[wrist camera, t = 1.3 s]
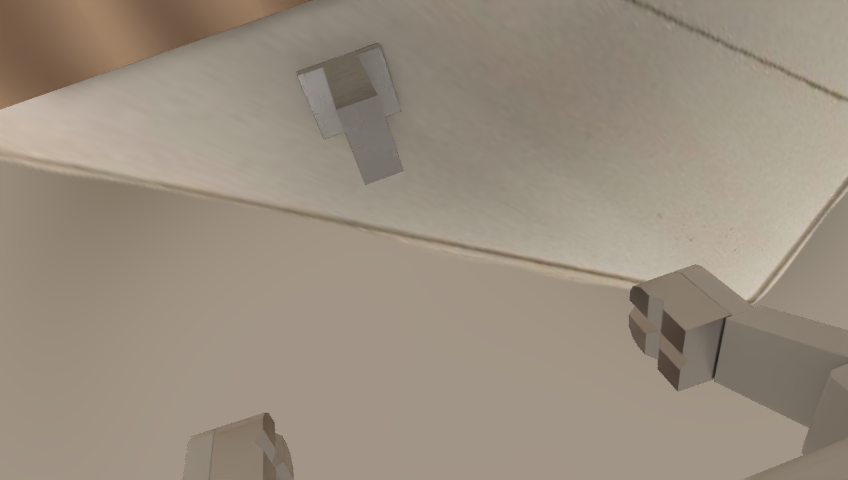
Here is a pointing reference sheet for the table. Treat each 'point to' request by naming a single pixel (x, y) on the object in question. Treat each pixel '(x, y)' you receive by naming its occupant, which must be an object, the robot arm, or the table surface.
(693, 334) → the robot arm
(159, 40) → the walnut well
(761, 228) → the table surface
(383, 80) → the steel bracket
